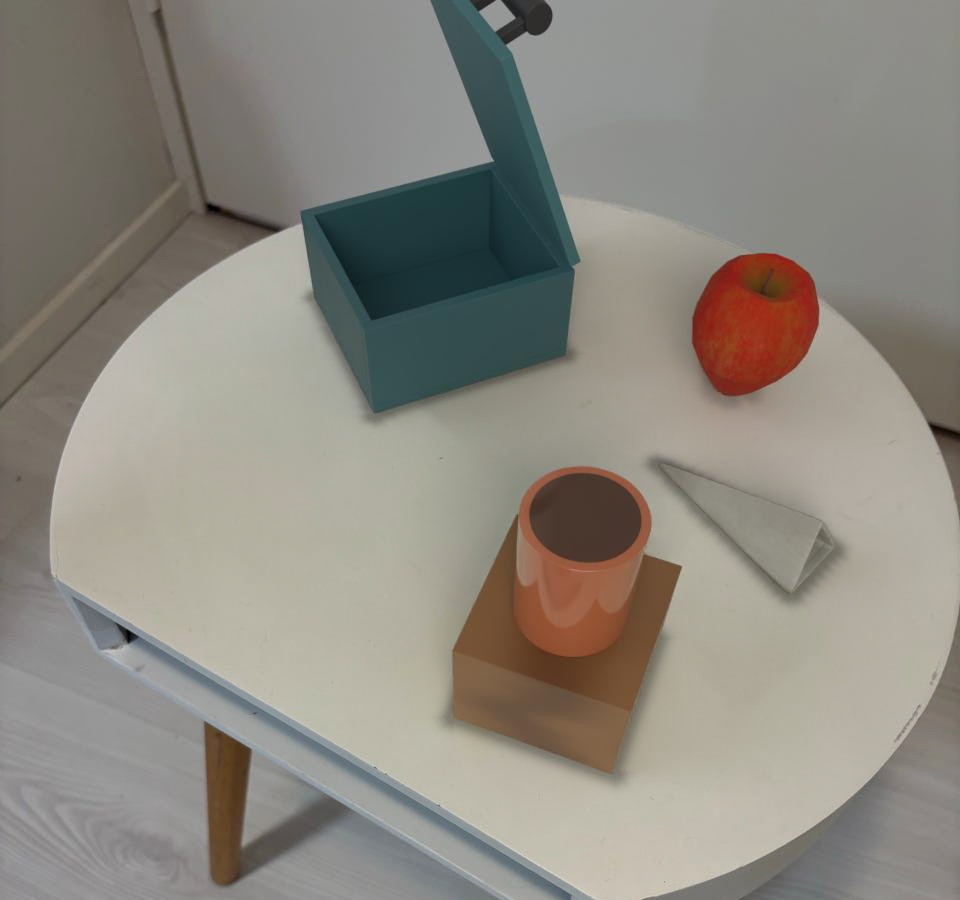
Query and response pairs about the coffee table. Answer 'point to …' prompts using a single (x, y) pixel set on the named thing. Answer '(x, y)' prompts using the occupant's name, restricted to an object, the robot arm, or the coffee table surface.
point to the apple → (754, 322)
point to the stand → (556, 669)
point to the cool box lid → (507, 103)
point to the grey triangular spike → (761, 528)
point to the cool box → (437, 284)
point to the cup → (578, 559)
